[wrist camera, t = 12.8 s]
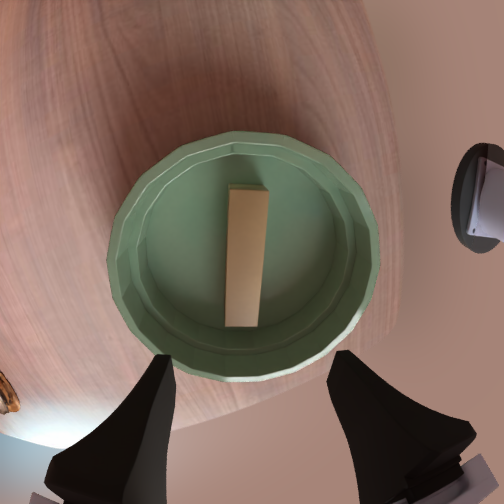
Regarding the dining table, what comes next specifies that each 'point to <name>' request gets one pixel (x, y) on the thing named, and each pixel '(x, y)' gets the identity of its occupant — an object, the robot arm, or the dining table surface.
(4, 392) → the brown mottled round dish
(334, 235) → the mixing bowl
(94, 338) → the dining table surface
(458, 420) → the robot arm
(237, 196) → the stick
